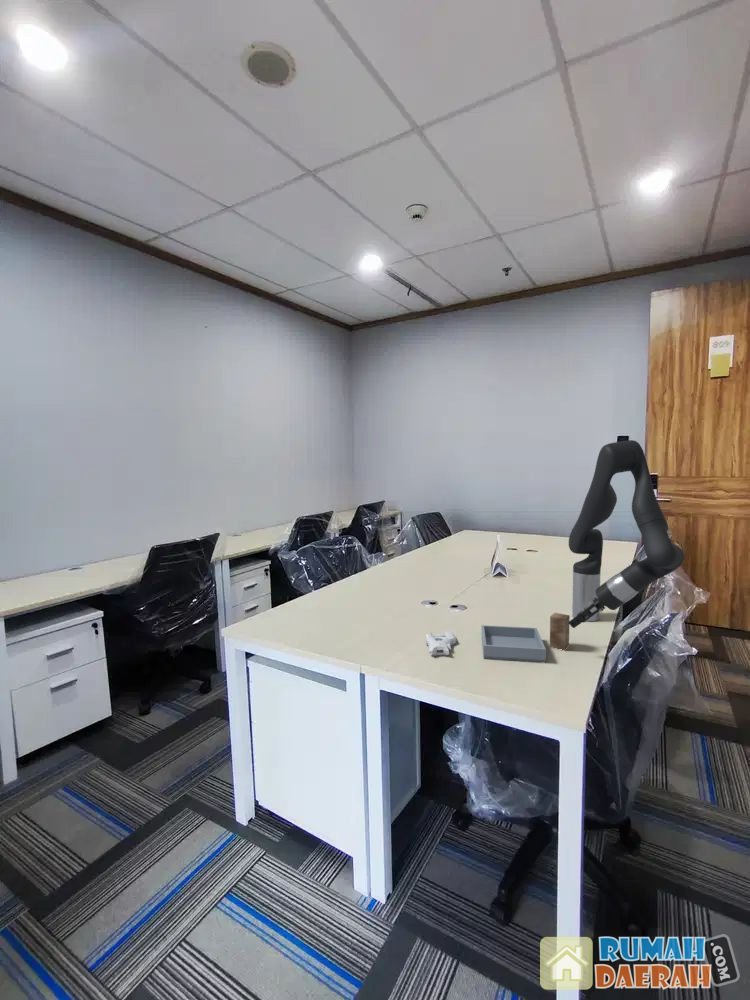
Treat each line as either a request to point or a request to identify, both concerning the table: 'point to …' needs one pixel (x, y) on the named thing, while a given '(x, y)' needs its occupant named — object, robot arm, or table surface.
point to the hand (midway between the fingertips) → (575, 621)
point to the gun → (440, 643)
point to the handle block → (559, 631)
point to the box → (512, 644)
